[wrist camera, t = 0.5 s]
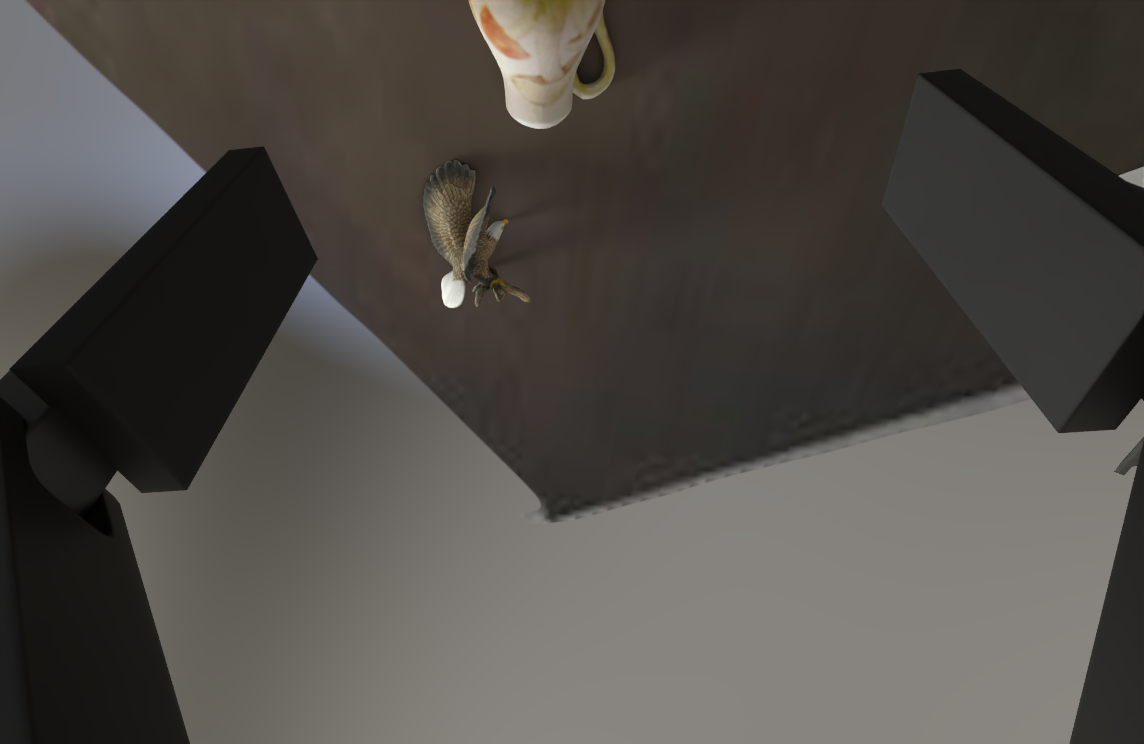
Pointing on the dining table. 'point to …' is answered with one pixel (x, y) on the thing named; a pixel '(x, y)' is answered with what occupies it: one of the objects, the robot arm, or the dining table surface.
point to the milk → (1134, 177)
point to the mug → (544, 53)
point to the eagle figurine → (464, 234)
